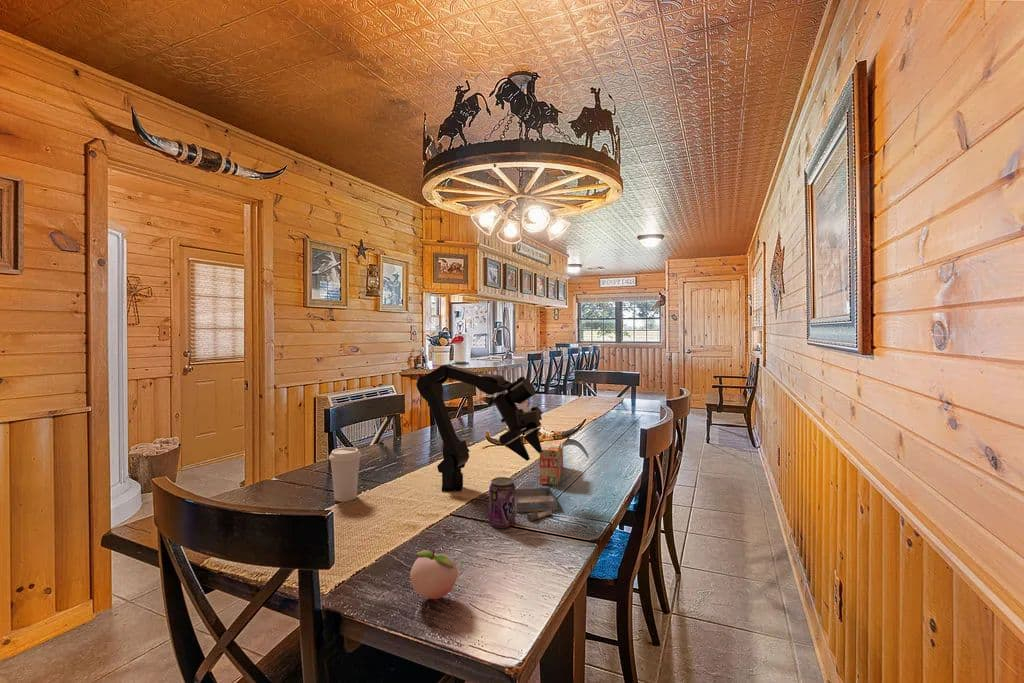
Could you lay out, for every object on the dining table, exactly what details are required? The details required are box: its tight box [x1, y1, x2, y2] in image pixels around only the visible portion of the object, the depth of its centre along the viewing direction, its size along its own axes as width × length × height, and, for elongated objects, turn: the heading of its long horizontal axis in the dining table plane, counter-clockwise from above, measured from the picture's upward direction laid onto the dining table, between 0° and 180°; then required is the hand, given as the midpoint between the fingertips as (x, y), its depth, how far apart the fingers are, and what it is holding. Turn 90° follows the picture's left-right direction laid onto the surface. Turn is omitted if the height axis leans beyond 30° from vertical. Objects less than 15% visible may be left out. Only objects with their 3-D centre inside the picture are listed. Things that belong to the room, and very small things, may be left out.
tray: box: [515, 487, 559, 513], centre depth 144 cm, size 12×12×2 cm
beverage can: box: [488, 476, 516, 529], centre depth 128 cm, size 7×7×12 cm
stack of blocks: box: [539, 440, 564, 486], centre depth 171 cm, size 21×6×12 cm, turn 169°
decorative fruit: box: [409, 549, 458, 600], centre depth 93 cm, size 9×8×10 cm
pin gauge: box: [526, 510, 553, 522], centre depth 133 cm, size 8×2×2 cm, turn 127°
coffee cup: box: [328, 446, 362, 503], centre depth 148 cm, size 10×10×15 cm
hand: (534, 456), depth 143 cm, fingers open, 9 cm apart
